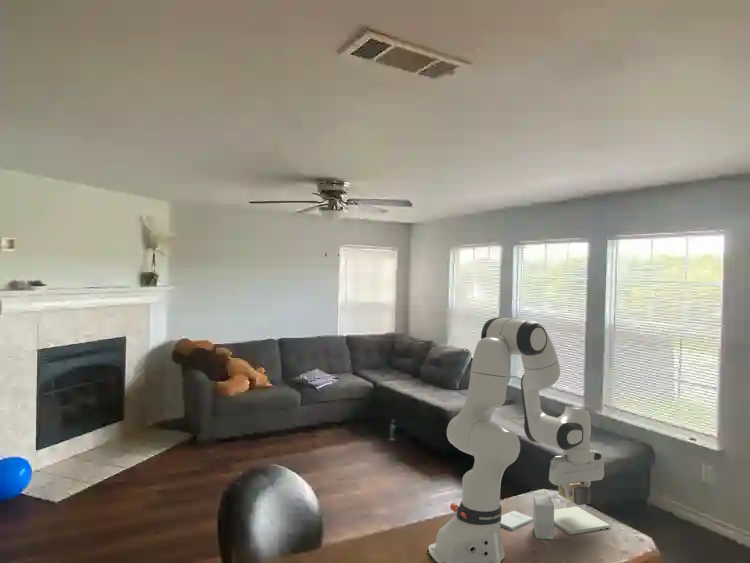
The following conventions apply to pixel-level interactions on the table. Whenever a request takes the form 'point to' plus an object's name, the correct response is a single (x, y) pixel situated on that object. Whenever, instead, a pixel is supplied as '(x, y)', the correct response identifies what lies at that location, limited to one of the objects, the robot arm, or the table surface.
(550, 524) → the small box
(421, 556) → the table surface
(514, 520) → the external hard drive
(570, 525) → the sage board
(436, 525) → the table surface
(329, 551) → the table surface
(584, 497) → the maple block
